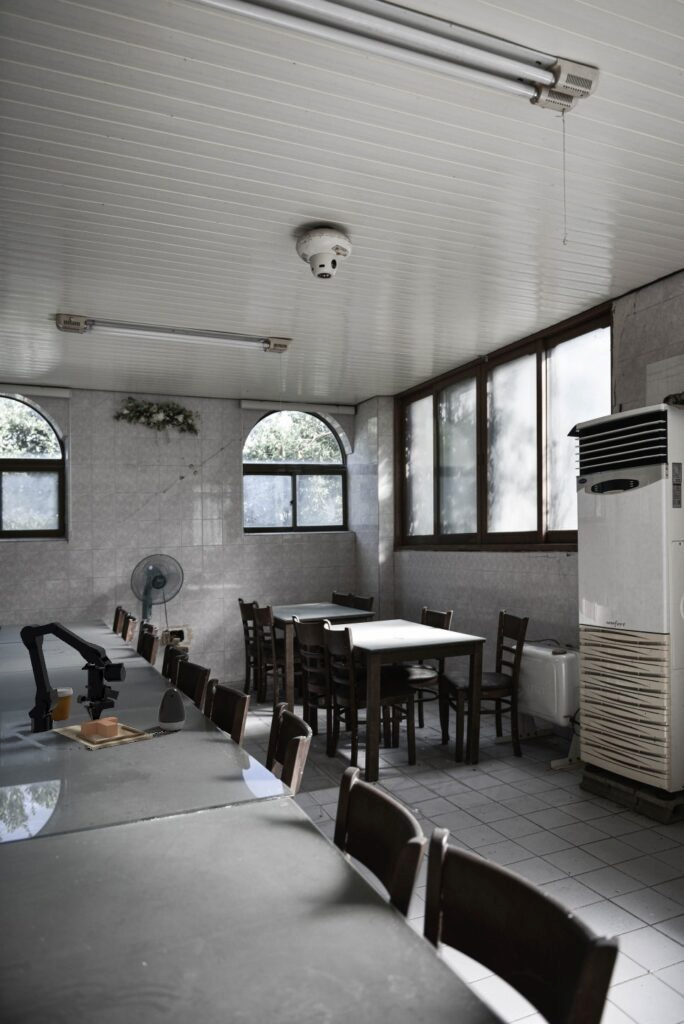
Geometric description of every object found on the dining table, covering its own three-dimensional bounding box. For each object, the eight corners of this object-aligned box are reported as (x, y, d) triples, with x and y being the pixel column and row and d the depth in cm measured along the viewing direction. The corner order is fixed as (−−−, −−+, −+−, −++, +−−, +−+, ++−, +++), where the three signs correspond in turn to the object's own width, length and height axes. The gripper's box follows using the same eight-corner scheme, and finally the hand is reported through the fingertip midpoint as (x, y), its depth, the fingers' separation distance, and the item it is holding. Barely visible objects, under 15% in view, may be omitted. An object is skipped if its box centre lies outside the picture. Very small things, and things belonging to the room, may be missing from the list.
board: (92, 750, 240) (92, 744, 240) (51, 732, 264) (51, 727, 264) (152, 737, 255) (152, 732, 255) (108, 722, 279) (108, 717, 280)
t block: (96, 739, 249) (96, 727, 250) (80, 733, 258) (80, 722, 258) (128, 733, 258) (128, 721, 258) (112, 727, 266) (112, 716, 267)
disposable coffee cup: (77, 717, 288) (77, 687, 288) (65, 723, 278) (66, 691, 279) (54, 717, 289) (54, 687, 289) (42, 723, 279) (42, 691, 280)
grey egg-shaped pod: (157, 734, 260) (157, 691, 261) (157, 727, 270) (157, 686, 271) (186, 731, 263) (186, 689, 264) (185, 725, 273) (185, 684, 274)
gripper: (128, 682, 263) (128, 725, 262) (104, 676, 276) (104, 717, 276) (99, 686, 255) (99, 731, 255) (76, 679, 269) (76, 722, 268)
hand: (95, 725), depth 263 cm, fingers closed
